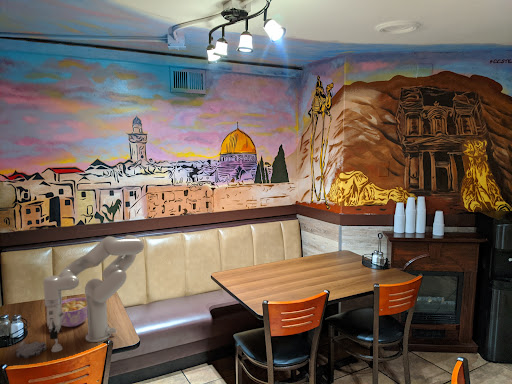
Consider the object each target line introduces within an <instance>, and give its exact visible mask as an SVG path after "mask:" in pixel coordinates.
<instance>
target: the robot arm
mask: <svg viewBox="0 0 512 384" xmlns="http://www.w3.org/2000/svg"><path fill="white" fill-rule="evenodd" d="M144 248H145V244H144V241H143V240H142V239H141V238H139V237H137V236H135V235H132V234H129V235H125V236H124V237H123V238H122V239H119V238H116V237H114V236H106V237H104V238H103V239H102V240H101V241H99V243H97V244H96V245H95V246H93V248H91V249H90V250H89V251H88V252H87V253H86V254H84V255H83V256H80V257H78V258H77V259H75V260H74V261H72V262H71V263H69V264H68V265H66V267H65V268H63V270H61V272H59V275H49V276H46V277H45V278H44V279H43V281H42V283H43V294H44V307H46V323H47V327H48V330H49V339H50V340H55V339H58V337H59V336H58V334H59V333H61V332H62V327H61V328H60V330H59V332H58V333H57V331H56V325H57V326H58V325H59V324H60V316H61V314H62V316H61V319H63V309H62V301H63V296H62V292H63V291H71V290H74V289H76V288H77V287H78V286H79V283H80V280H79V278H78V275H79V274H81V273H82V272H84V271H86V270H87V269H91V268H96V267H98V266H100V265H101V264H102V263H103V262H104V261H105V260H106V259H107V258H108V257H110V255H111V256H117V257H116V258H115V259H114V260H113V261H111V263H110V264H108V265H107V266H106V267H105V268H104V269H103V271H102V278H103V280H101V279H100V278H92V279H89V280H88V281H87V283H86V284H85V286H84V295H85V298H86V302H87V328H88V333H87V334H86V335H85V340H86V341H87V342H89V343H99V342H103V341H105V340H107V339H108V338H110V337H111V335H112V333H113V334H116V333H117V328H115V327H110V326H109V325H108V314H107V313H108V311H107V309H108V308H107V301H108V300H109V299H111V298H112V296H113V295H115V293H116V292H117V291H119V290H120V288H122V287H123V286H124V284H125V283H126V281H127V277H128V276H127V273H126V271H127V270H128V269H129V268H130V267H131V266H132V265H133V263H134V262H135V259H136V256H137V254H141V253H142V252H143V250H144ZM49 323H50V324H49ZM53 324H55V325H53ZM53 326H55V329H54V328H53Z"/></svg>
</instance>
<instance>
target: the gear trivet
mask: <svg viewBox="0 0 512 384" xmlns="http://www.w3.org/2000/svg"><path fill="white" fill-rule="evenodd" d="M46 350H47V344H46V342H39V341H34V342H32V343H28V344H27V343H26V344H23V345H22V347H20V348H17V349H16V358H24V359H29V358H30V357H35V356H37V357H38V356H39V355H41V353H42V352H44V351H46Z"/></svg>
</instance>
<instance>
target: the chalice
mask: <svg viewBox="0 0 512 384" xmlns="http://www.w3.org/2000/svg"><path fill="white" fill-rule="evenodd" d="M61 316H62V314H61ZM61 316H60V324H59V325H58V326H57V325H56V331H57V334H59V333H60V332H59V330H60V328H61V329H62V325H61V324H62V319H61ZM49 324H50V323H49ZM53 325H55V324H53ZM53 328H54V329H55V326H53ZM58 332H59V333H58ZM53 340H54V342H55V343H54V344H53V345H52V348H51V352H52V353H58V352H60V351H62V350H63V349H64V348H63V346H62V345H61V344H60V343H59V342H58V341H59V339H58V338H57V339H53Z"/></svg>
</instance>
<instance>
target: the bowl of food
mask: <svg viewBox="0 0 512 384" xmlns="http://www.w3.org/2000/svg"><path fill="white" fill-rule="evenodd" d="M62 309H63V319H62V324H61V327H62V326H63V327H67V328H74V327H77V326H79V325H81V324H82V323H84V322H85V321H87V320H88V317H87V302H86V297H73V298H67V299H64V300H62Z"/></svg>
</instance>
